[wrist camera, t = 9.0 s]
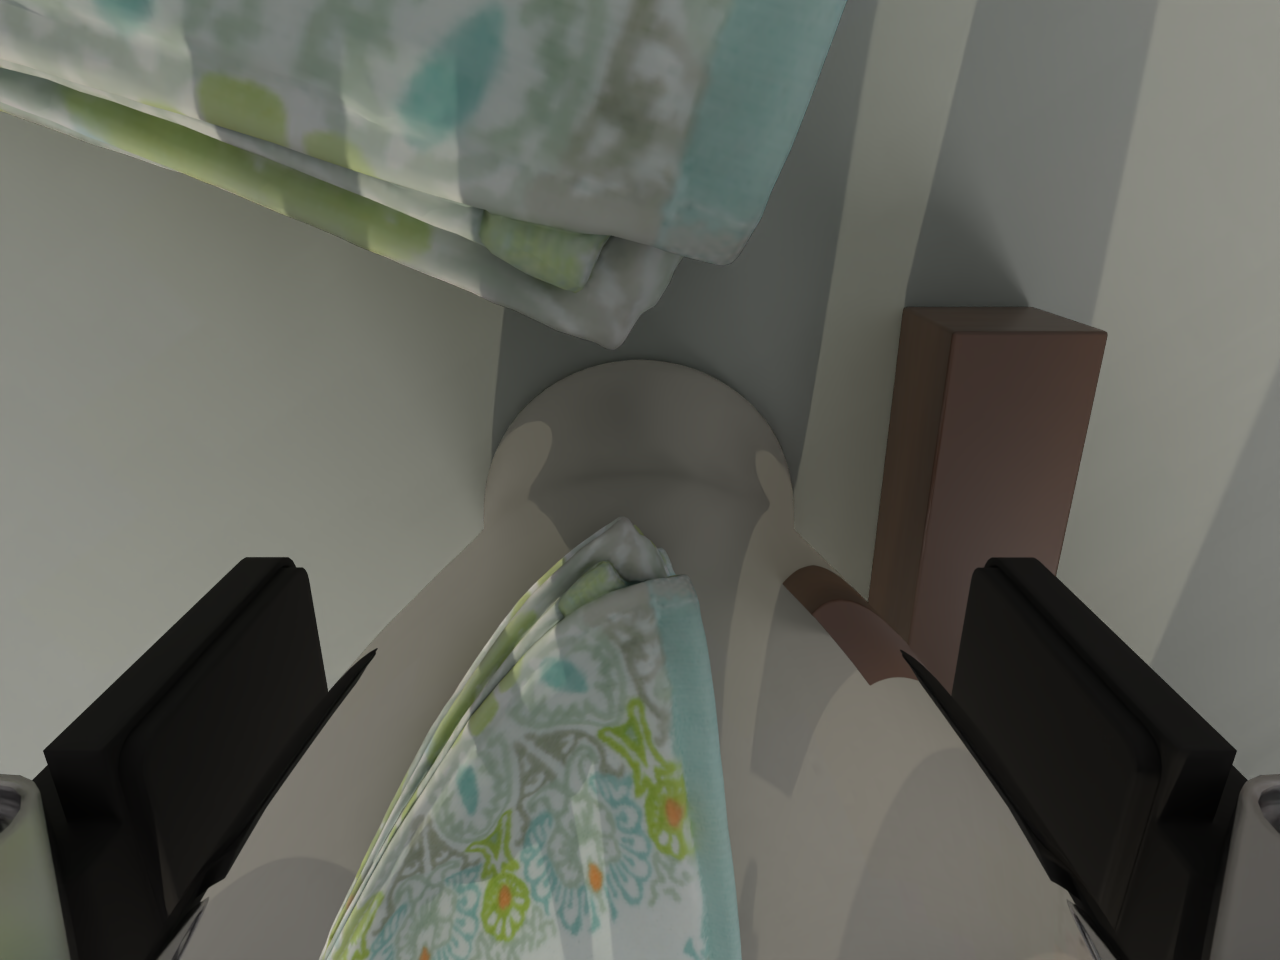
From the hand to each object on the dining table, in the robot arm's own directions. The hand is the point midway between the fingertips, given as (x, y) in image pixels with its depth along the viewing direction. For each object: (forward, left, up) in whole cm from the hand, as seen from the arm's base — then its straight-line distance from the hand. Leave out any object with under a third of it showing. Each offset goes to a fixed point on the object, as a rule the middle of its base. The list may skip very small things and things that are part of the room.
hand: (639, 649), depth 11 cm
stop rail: (-6, +1, -5) cm, 8 cm away
